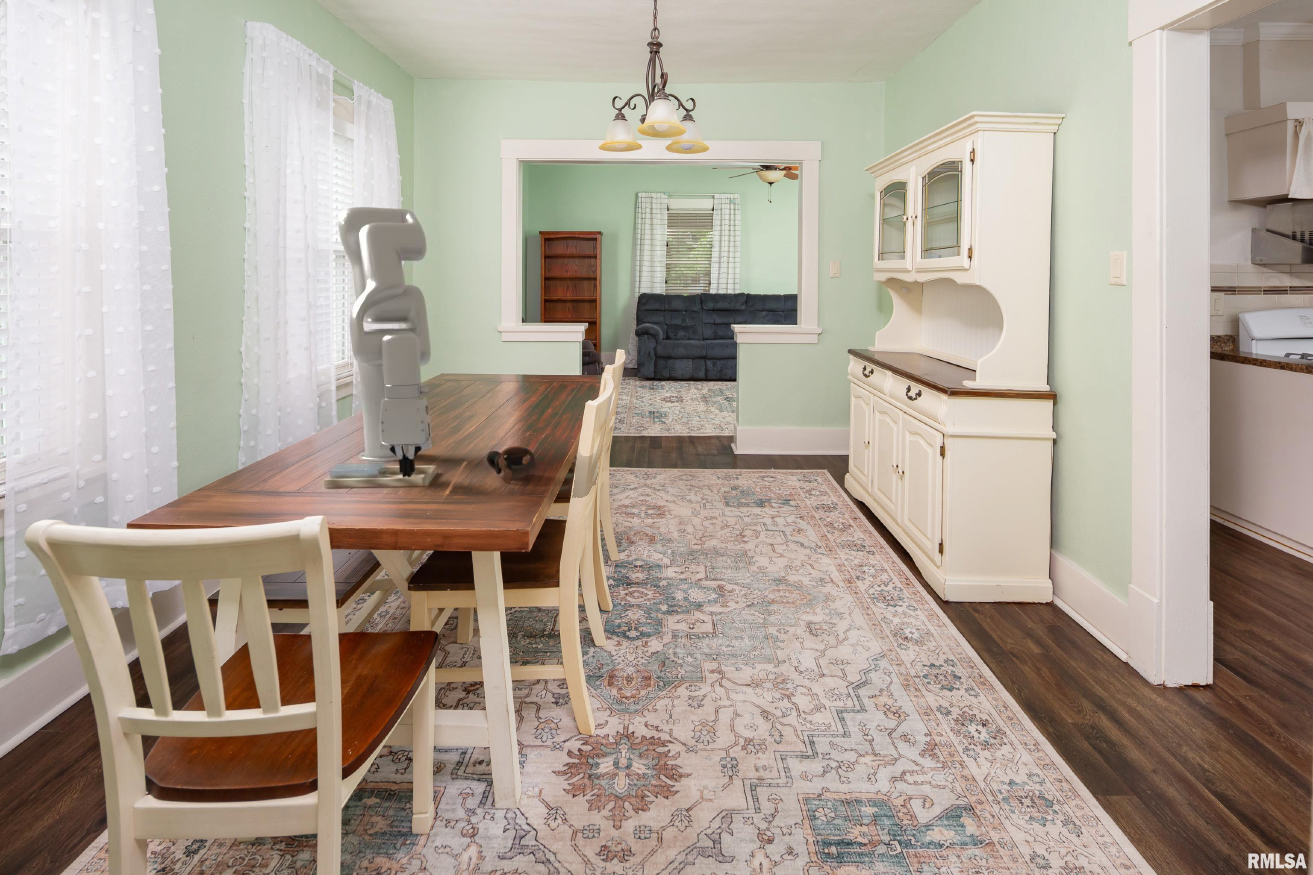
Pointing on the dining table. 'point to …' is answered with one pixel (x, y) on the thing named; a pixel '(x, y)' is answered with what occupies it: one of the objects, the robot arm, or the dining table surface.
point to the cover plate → (358, 470)
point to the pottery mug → (512, 462)
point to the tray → (388, 479)
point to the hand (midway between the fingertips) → (407, 475)
